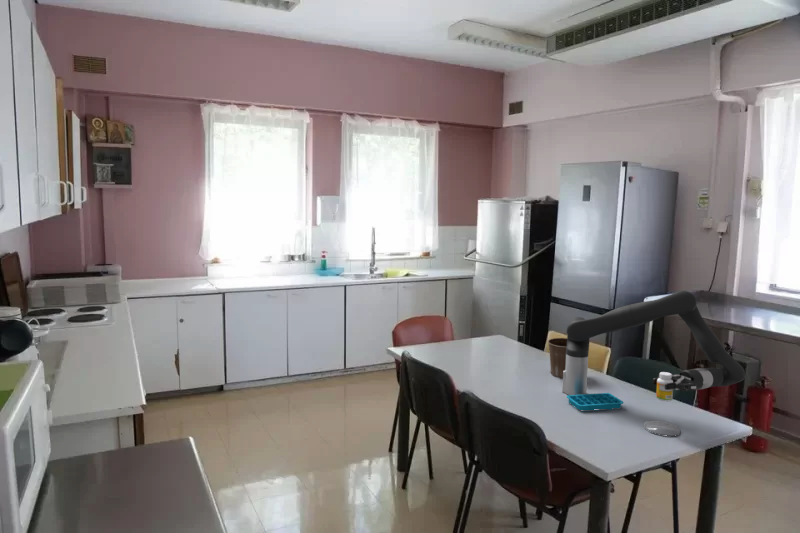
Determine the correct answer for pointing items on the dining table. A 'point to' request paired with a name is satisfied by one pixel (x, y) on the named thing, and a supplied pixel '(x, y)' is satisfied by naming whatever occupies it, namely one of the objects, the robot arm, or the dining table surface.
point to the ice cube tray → (595, 401)
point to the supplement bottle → (661, 391)
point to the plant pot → (557, 356)
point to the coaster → (662, 428)
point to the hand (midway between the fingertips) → (659, 384)
